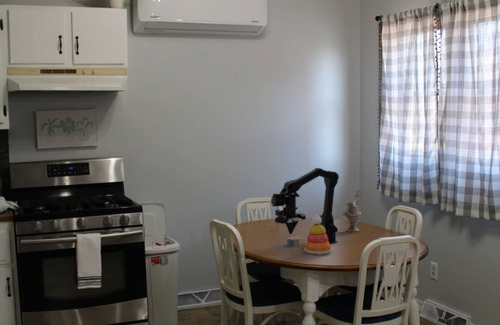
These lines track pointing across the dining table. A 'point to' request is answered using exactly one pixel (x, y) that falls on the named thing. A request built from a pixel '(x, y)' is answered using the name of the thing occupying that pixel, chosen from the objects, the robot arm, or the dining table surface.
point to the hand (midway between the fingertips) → (290, 233)
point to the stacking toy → (317, 238)
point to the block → (295, 241)
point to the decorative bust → (352, 213)
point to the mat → (287, 246)
